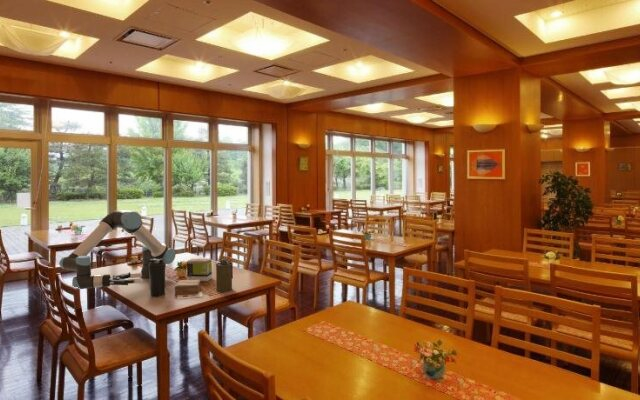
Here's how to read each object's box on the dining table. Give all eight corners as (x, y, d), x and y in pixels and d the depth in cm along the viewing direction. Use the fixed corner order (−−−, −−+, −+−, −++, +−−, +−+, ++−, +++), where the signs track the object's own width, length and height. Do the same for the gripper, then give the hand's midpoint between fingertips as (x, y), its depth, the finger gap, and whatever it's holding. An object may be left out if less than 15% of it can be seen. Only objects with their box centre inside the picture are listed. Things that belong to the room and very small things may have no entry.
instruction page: (177, 294, 252) (177, 293, 252) (201, 292, 257) (201, 291, 257) (176, 299, 243) (176, 298, 243) (202, 296, 248) (202, 296, 248)
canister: (219, 293, 255) (219, 262, 254) (213, 289, 264) (213, 259, 262) (235, 290, 262) (235, 260, 260) (229, 286, 270) (228, 257, 268)
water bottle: (152, 292, 256) (151, 257, 254) (168, 292, 257) (167, 257, 255) (146, 297, 246) (145, 261, 244) (163, 297, 247) (162, 260, 245)
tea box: (212, 278, 291) (212, 258, 290) (207, 281, 281) (206, 261, 280) (192, 277, 292) (192, 257, 291) (186, 281, 282) (186, 260, 281)
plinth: (178, 289, 263) (178, 280, 263) (200, 288, 266) (200, 279, 265) (175, 295, 249) (174, 286, 249) (198, 294, 252) (197, 284, 251)
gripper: (106, 281, 251) (142, 278, 259) (99, 292, 228) (139, 289, 235) (105, 269, 251) (142, 267, 258) (98, 280, 228) (139, 276, 235)
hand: (141, 277), depth 247 cm, fingers open, 13 cm apart
